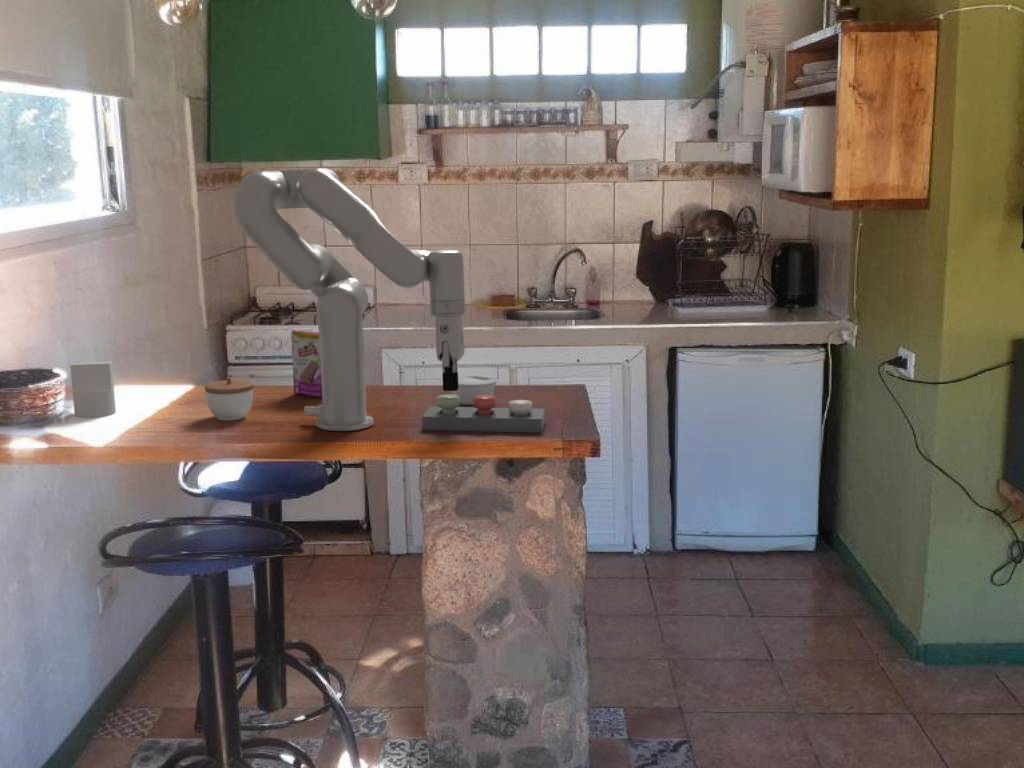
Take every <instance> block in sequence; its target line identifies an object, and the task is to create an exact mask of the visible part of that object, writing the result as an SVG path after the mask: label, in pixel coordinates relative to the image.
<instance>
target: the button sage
mask: <svg viewBox="0 0 1024 768" xmlns="http://www.w3.org/2000/svg"><path fill="white" fill-rule="evenodd" d="M436 407H440V408H442V414H455V408H456V407H461V404H460V396H458V395H452V394H441V395H437V396H436Z"/></svg>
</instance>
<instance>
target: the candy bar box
mask: <svg viewBox="0 0 1024 768" xmlns="http://www.w3.org/2000/svg"><path fill="white" fill-rule="evenodd" d="M290 331H291V335H290V336H291V351H292V352H291V354H292V355H291V356H292V357H291V358H292V372H293V373H292V377H293V393H294V395H301V396H306V397H312V398H319V399H322V380H321V357H320V339H319V329H315V328H314V329H313V328H305V327H303V328H298V329H293V330H290Z"/></svg>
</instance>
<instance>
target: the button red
mask: <svg viewBox="0 0 1024 768" xmlns="http://www.w3.org/2000/svg"><path fill="white" fill-rule="evenodd" d="M496 400H497V398H496V396H494V395H493V396H491V395H479V396H474V397H473V405H472V407H474V408H477V409H478V415H491V408H497V405H496V404H497V403H496Z"/></svg>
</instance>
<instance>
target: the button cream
mask: <svg viewBox="0 0 1024 768" xmlns="http://www.w3.org/2000/svg"><path fill="white" fill-rule="evenodd" d="M508 406H509V407H508V408H509V412H510V413H514V415H524V416H527V413H531V412H532V408H533V402H532V400H527V399H516V400H515V399H514V400H510V401H509V402H508Z"/></svg>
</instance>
